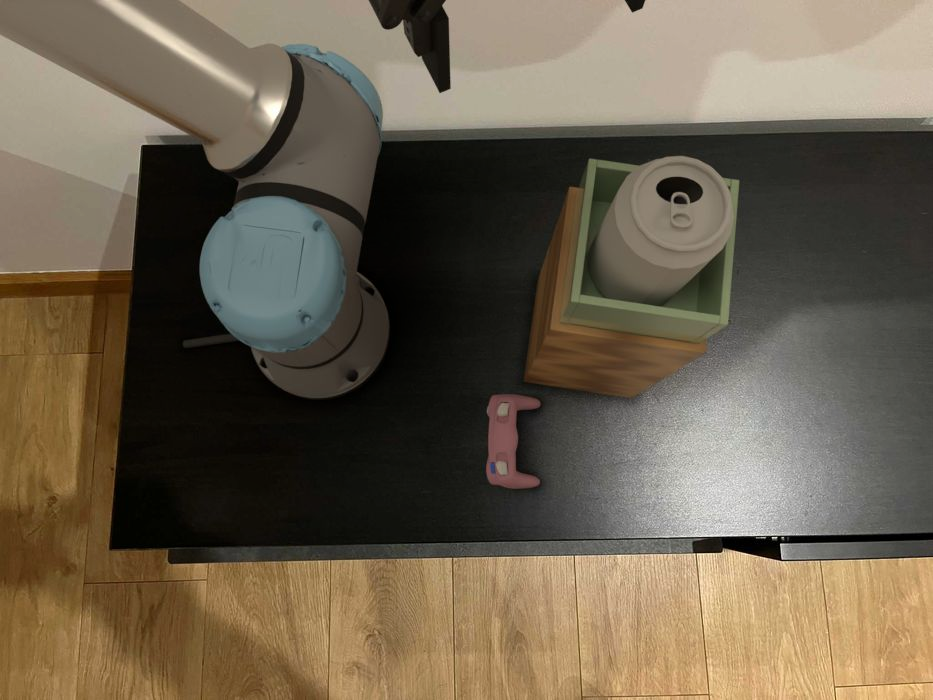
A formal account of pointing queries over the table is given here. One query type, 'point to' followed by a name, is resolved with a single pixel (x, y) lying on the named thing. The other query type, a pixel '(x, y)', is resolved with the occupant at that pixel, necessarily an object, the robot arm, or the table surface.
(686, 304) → the box
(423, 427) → the table surface
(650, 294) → the can
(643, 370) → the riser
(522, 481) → the video game controller
